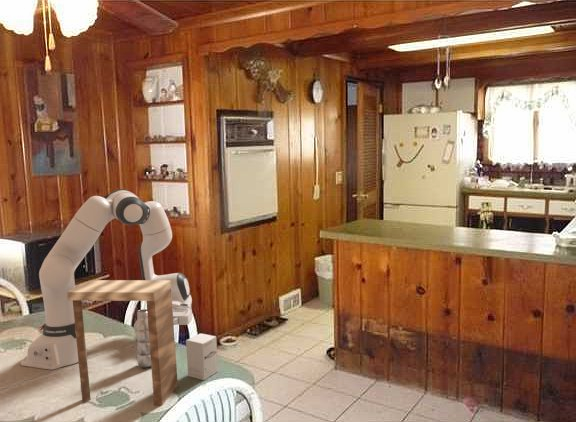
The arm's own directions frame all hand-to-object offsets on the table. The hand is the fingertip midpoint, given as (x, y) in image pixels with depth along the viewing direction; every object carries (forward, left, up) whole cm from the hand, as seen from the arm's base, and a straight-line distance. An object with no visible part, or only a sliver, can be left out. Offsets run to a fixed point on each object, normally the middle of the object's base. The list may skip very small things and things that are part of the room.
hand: (157, 324), depth 189 cm
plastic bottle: (0, -11, -11) cm, 16 cm away
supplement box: (+22, -16, -11) cm, 30 cm away
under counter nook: (+3, -31, -11) cm, 33 cm away
